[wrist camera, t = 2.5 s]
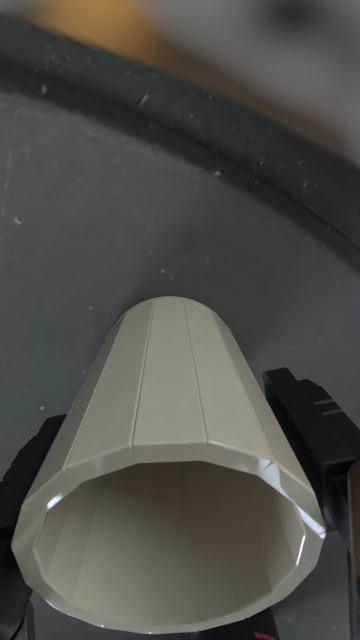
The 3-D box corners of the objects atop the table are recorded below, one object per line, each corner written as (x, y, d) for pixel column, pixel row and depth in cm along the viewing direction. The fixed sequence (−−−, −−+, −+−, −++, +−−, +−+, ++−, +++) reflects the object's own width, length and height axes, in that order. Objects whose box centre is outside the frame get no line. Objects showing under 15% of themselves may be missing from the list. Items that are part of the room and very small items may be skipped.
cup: (89, 388, 13) (-10, 613, 6) (128, 274, 11) (51, 397, 4) (202, 422, 14) (239, 648, 7) (256, 323, 12) (390, 492, 5)
